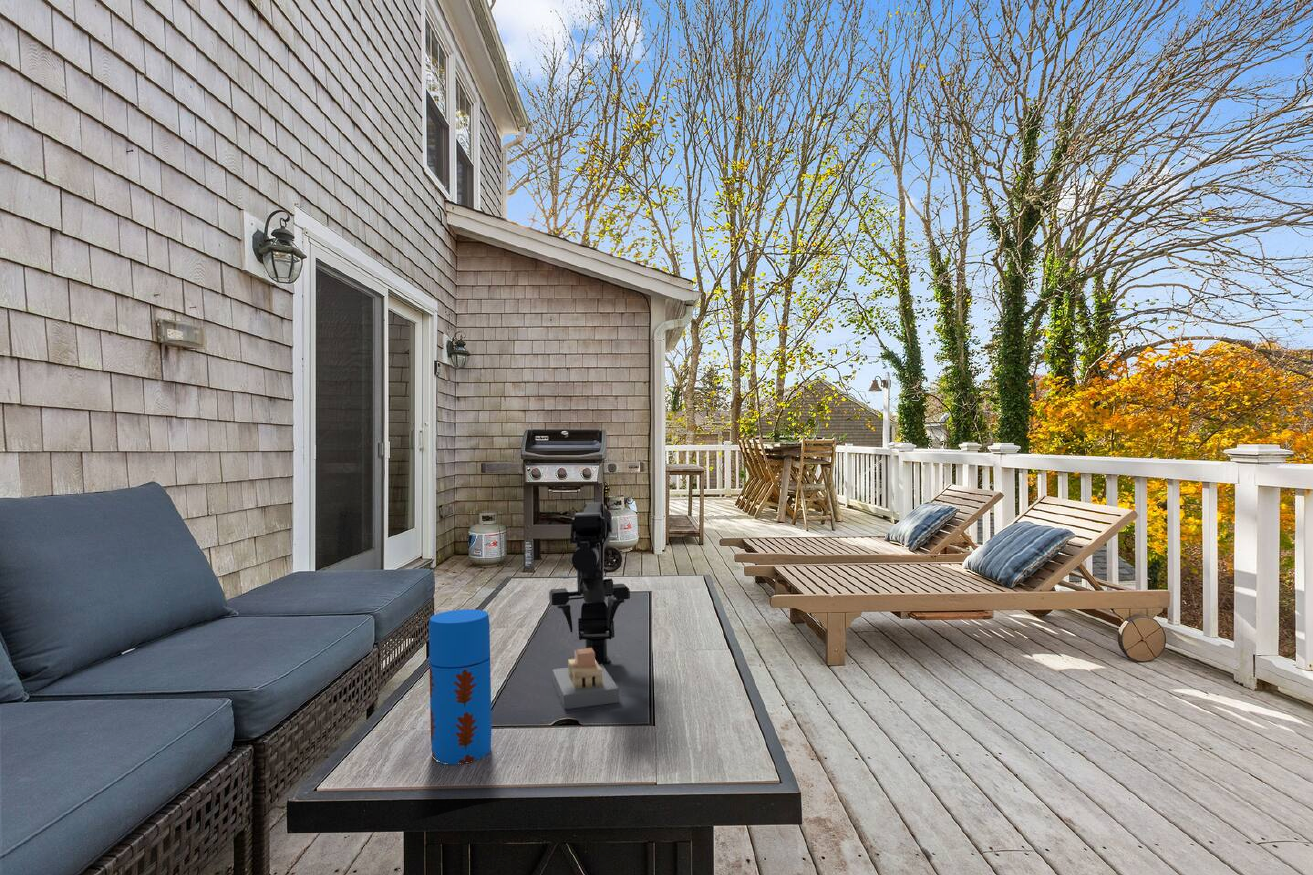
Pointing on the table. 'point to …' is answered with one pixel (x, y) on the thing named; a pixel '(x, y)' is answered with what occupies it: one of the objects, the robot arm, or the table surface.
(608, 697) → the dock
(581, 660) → the block
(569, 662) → the tray
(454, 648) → the thermos
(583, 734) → the table surface
